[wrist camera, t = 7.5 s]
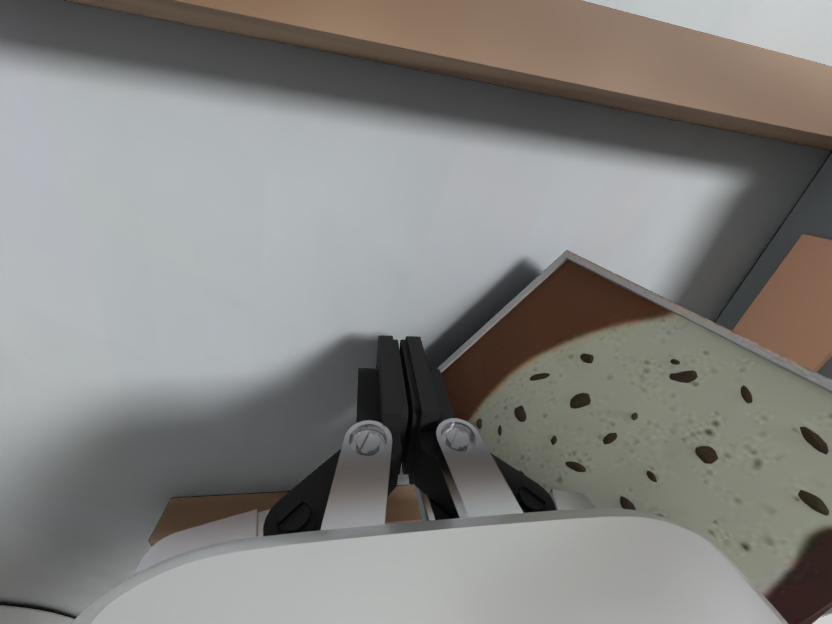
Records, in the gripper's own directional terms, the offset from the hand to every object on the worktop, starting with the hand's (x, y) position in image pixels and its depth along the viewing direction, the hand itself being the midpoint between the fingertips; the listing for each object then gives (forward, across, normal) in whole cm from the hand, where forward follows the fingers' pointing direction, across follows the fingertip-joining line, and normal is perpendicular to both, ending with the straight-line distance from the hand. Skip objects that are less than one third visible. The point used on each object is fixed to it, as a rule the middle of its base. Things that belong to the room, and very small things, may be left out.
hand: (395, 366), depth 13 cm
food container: (+1, -5, 0) cm, 5 cm away
